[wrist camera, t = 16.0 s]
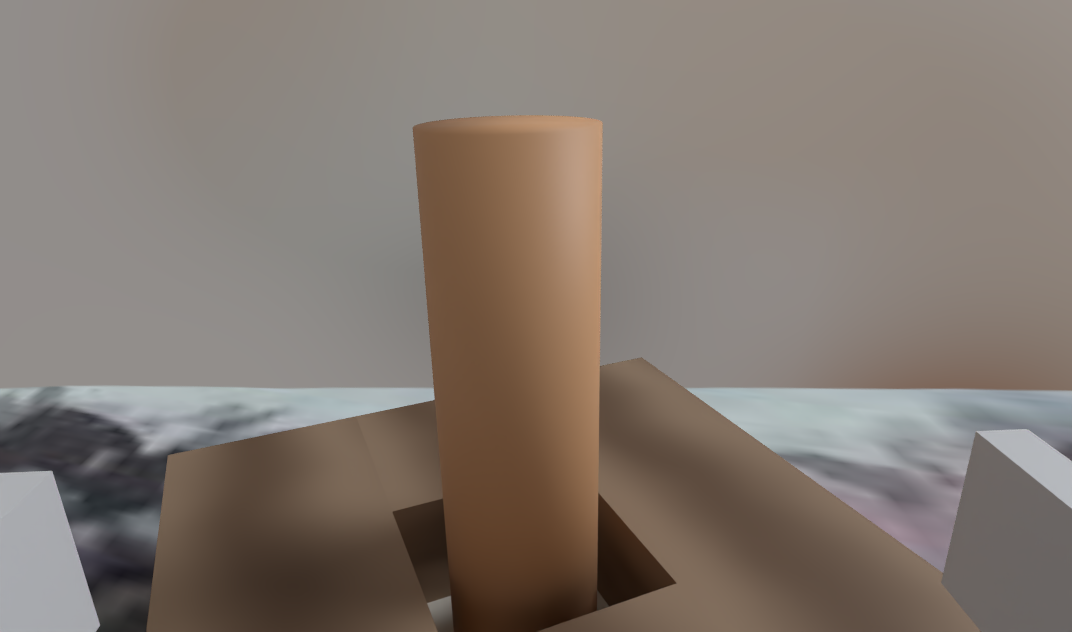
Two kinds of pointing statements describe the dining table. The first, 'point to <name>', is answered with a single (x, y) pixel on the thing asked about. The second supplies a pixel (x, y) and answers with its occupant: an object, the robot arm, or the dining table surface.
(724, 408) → the dining table surface
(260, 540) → the socket block
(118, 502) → the dining table surface
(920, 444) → the dining table surface
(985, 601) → the robot arm
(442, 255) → the peg
